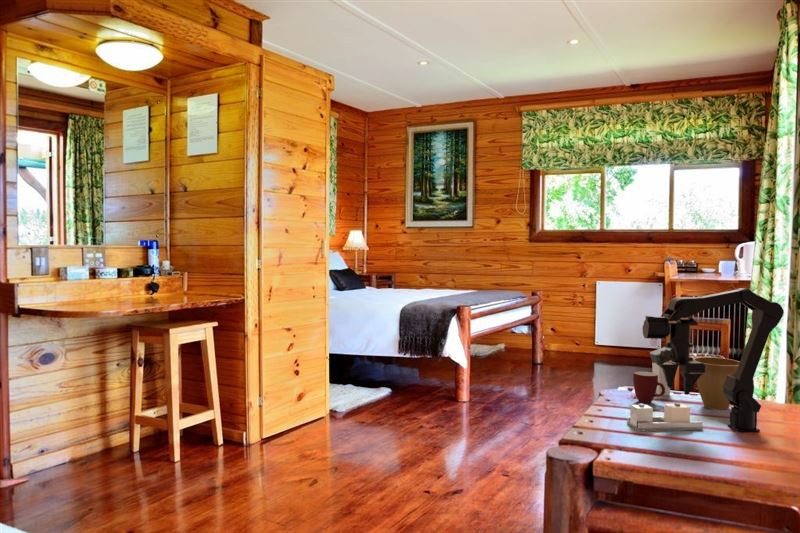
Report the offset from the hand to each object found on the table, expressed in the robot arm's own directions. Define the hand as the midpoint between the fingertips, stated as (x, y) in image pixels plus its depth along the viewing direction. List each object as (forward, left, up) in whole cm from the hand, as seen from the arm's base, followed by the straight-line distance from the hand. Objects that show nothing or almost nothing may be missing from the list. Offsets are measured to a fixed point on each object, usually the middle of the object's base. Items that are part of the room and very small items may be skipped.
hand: (677, 390), depth 191 cm
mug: (-7, -29, -11) cm, 32 cm away
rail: (+4, 0, -11) cm, 12 cm away
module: (0, 0, -10) cm, 10 cm away
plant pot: (-27, -21, -11) cm, 36 cm away
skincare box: (-19, -42, -11) cm, 47 cm away
